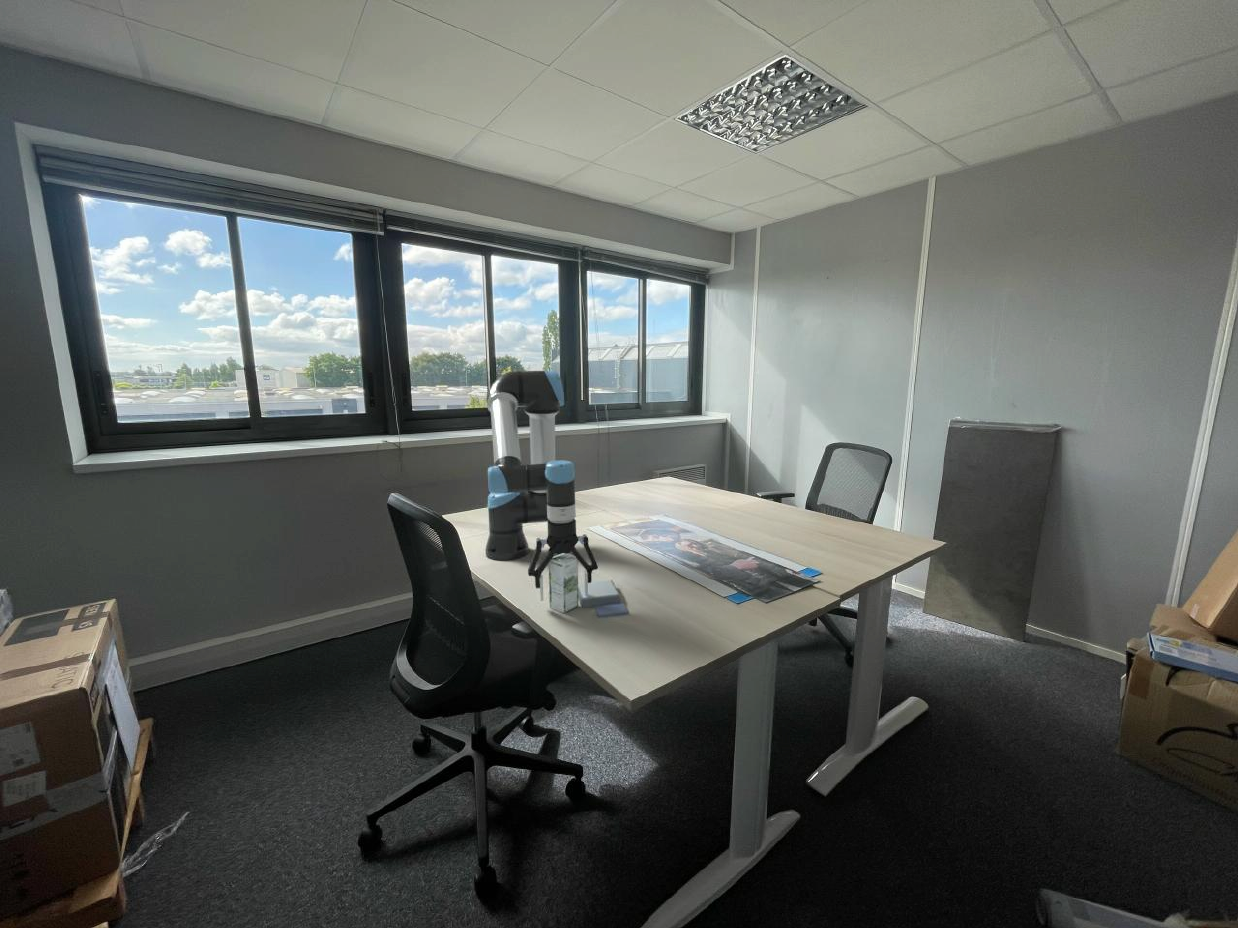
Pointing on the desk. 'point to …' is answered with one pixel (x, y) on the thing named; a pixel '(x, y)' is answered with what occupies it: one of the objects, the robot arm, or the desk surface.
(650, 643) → the desk surface
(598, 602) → the podium
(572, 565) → the syrup box
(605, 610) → the navy notebook
